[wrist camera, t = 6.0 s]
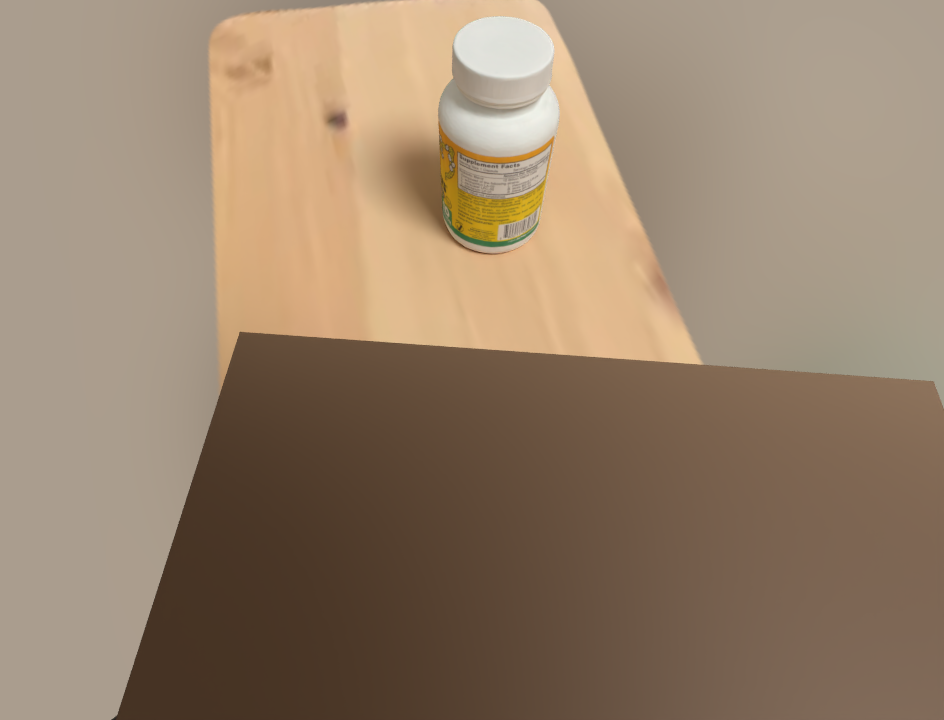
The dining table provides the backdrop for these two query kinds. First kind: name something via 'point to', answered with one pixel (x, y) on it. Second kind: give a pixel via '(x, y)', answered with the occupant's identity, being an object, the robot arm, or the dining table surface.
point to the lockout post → (550, 542)
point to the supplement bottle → (497, 133)
